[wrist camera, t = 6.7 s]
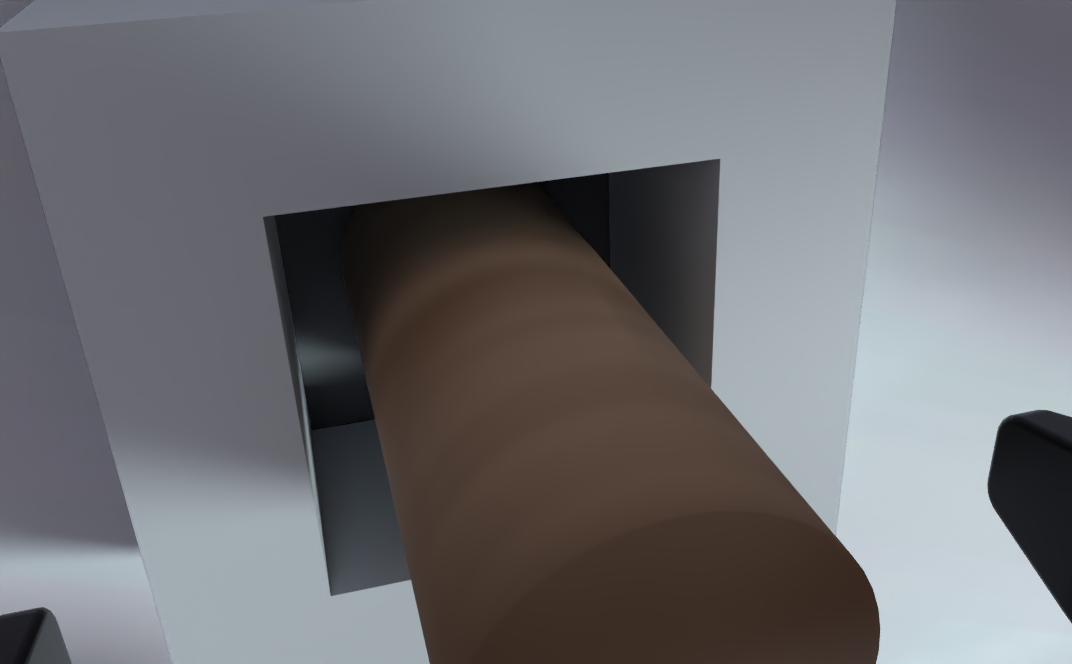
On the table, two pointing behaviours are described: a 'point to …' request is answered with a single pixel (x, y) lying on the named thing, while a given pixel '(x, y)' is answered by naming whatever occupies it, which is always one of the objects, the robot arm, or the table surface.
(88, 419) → the table surface
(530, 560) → the peg
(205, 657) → the grey and wooden blocks
